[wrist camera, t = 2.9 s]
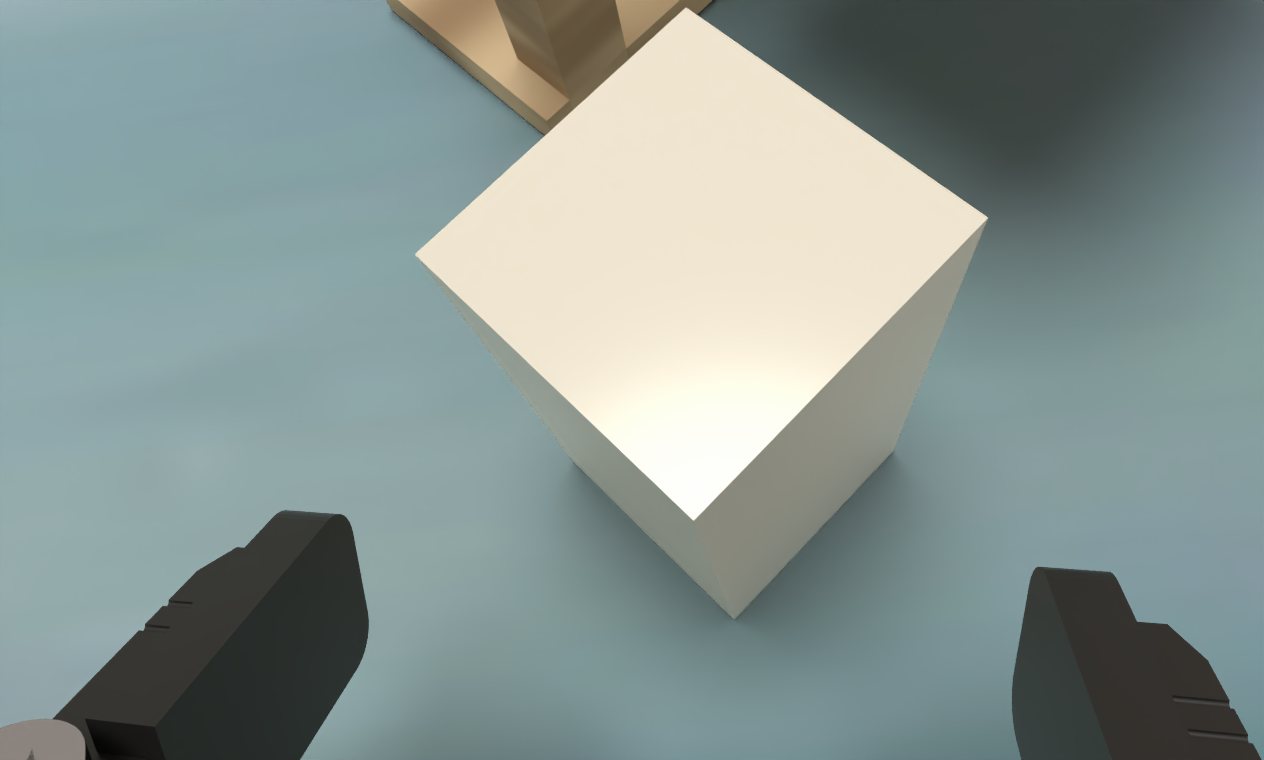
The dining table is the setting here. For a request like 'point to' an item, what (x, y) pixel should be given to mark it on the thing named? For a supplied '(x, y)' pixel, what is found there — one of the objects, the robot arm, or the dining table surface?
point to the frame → (541, 44)
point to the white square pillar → (712, 299)
